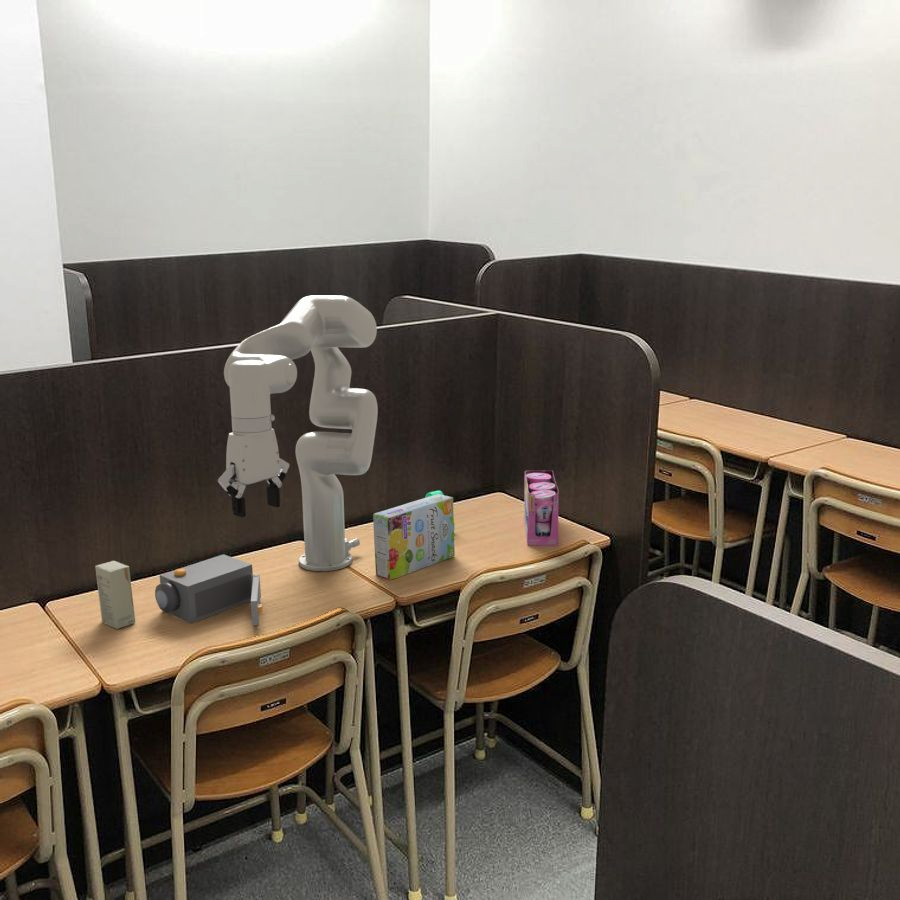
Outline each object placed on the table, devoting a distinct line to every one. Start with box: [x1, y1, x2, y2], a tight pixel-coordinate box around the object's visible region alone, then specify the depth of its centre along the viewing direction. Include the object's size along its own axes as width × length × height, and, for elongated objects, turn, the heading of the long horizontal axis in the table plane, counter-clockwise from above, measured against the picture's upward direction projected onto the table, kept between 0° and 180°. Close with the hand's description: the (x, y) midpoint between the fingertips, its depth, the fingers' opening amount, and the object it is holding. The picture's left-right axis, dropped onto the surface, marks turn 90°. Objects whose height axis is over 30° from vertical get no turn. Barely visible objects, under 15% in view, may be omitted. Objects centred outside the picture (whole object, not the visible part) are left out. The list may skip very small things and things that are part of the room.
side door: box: [250, 573, 263, 626], centre depth 194 cm, size 15×2×5 cm, turn 9°
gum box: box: [523, 469, 560, 547], centre depth 243 cm, size 24×8×14 cm, turn 178°
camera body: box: [154, 553, 254, 624], centre depth 198 cm, size 19×10×9 cm, turn 139°
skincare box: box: [94, 560, 136, 630], centre depth 190 cm, size 6×4×12 cm
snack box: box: [372, 494, 456, 581], centre depth 220 cm, size 21×6×15 cm, turn 136°
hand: (256, 510), depth 187 cm, fingers open, 7 cm apart
